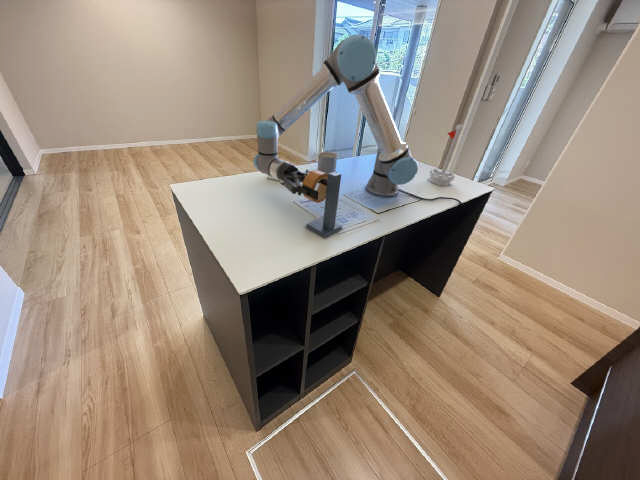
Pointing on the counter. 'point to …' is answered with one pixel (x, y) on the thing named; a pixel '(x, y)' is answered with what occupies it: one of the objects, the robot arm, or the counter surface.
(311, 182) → the tape roll
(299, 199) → the counter surface
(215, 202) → the counter surface
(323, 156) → the coffee mug
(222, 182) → the counter surface
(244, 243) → the counter surface
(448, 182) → the flag stand
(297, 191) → the robot arm
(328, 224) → the hook stand
